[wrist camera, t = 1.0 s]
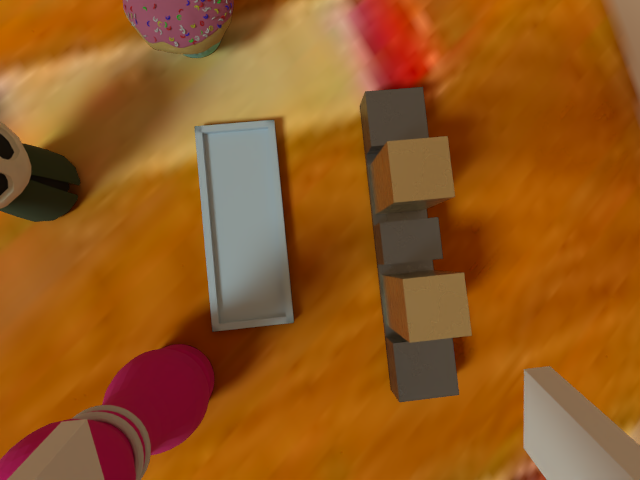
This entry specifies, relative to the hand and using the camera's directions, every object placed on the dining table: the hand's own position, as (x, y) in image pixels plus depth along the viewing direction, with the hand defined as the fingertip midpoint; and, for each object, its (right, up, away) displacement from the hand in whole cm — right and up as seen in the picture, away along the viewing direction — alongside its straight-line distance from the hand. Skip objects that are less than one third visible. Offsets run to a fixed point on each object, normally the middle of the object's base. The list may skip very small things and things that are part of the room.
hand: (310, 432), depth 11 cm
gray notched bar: (+8, +6, +23) cm, 25 cm away
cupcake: (-11, +25, +23) cm, 36 cm away
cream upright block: (+8, +1, +22) cm, 24 cm away
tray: (-6, +7, +22) cm, 24 cm away
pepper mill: (-12, -6, +22) cm, 26 cm away
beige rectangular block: (+7, +11, +23) cm, 26 cm away
